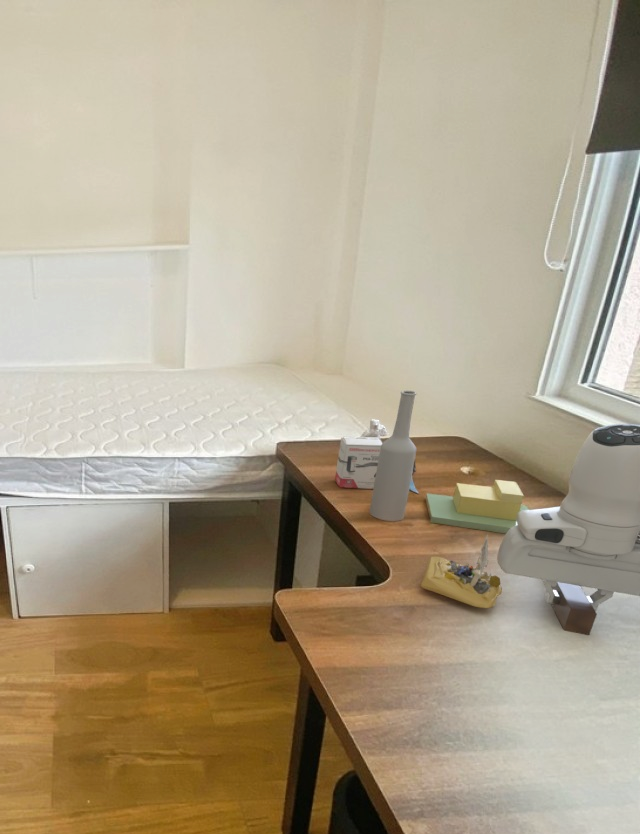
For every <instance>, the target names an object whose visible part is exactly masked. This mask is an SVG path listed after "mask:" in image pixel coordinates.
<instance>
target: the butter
mask: <svg viewBox="0 0 640 834" xmlns="http://www.w3.org/2000/svg"><path fill="white" fill-rule="evenodd" d="M453 501H454V504H455V507H456V511H457V513H463V514H470V515H478V516H485V517H492V518H499V519H507V520H514V521H517V514H518V513H519V511H520V507H521V505H522V504H521V503H513V502H505V501H500V500H499V498H498V496H497V494H496V492H495V490H494V487H493V486H485V485H478V484H477V485H476V484H469V483H461V482H460V483H459V482H456V483H455V487H454V491H453Z"/></svg>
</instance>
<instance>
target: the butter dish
mask: <svg viewBox="0 0 640 834" xmlns="http://www.w3.org/2000/svg"><path fill="white" fill-rule="evenodd" d="M424 500H425V503H426V509H427V512H428V517H429V522H430V523H432V524H438V525H445V526H451V527H458V528H465V529H472V530H473V529H474V530H480V531H485V532H486V531H487V532H494V533H500V534H506V533H507V532H508V530H509V529H511V528H512V527H514V526H516V525H518V524H517V521H514V520H507V519H499V518H492V517H485V516H478V515H470V514H463V513H457V511H456V507H455V504H454V501H453V496H451V495H445V494H435V493H429V492H426V493H425V499H424ZM523 510H530V508H529V506H528V505H523V504H521V507H520V511H523ZM520 511H519V512H520Z"/></svg>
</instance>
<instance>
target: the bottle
mask: <svg viewBox="0 0 640 834" xmlns="http://www.w3.org/2000/svg"><path fill="white" fill-rule="evenodd" d="M417 395H418V393H417V392H416V391H413V390H401V391H400V399H399V405H398V409H397V415H396V419H395V424H394V428H393V430H392V431H393V432H392V435H391V436H390V437H388V438H386V440H384V441H383V443H382V445H381V449H380V455H379V460H378V466H377V471H376V477H375V482H374V488H373V489H372V495H371V500H370V506H369V514H370V515H371V516H373V518H376V519H379V520H382V521H384V522H385V521H386V522H400V521H402V520H404V518H405V515H406V509H407V504H408V499H409V493H410V489H409V488H410V483H411V477H412V478H413V473H414V472H413V466H414V460H415V461H416V454H417V447H416V444H414V442H413V441H412V439H411V438H410V430H411V420H412V414H413V409H414V402H415V397H416V396H417ZM412 472H413V473H412Z"/></svg>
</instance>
